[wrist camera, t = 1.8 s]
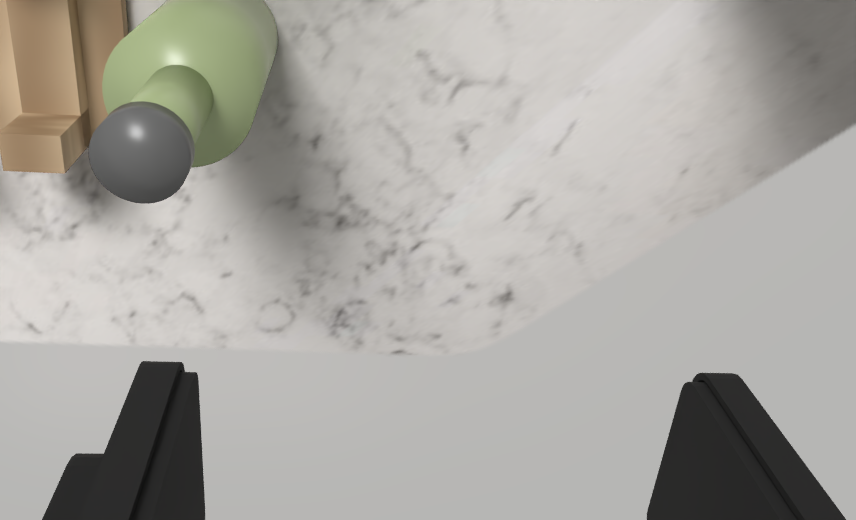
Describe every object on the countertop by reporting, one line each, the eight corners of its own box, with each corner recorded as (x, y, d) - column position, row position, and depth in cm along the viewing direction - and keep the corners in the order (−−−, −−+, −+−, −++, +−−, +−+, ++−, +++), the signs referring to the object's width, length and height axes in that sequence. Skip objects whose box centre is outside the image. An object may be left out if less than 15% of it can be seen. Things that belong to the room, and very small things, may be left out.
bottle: (277, -19, 35) (231, 72, 21) (277, 93, 37) (236, 245, 23) (159, -28, 34) (28, 59, 20) (166, 87, 37) (53, 238, 22)
